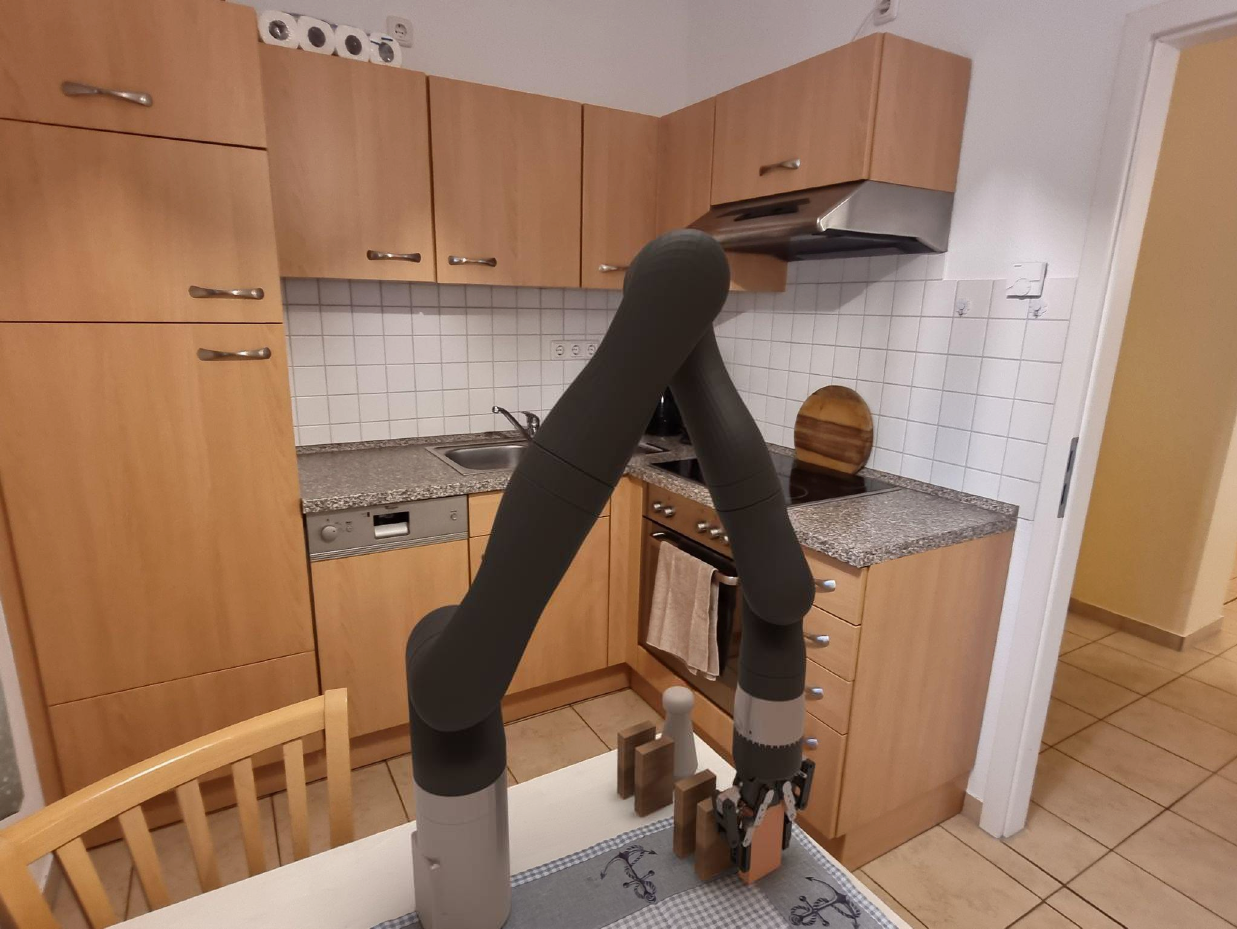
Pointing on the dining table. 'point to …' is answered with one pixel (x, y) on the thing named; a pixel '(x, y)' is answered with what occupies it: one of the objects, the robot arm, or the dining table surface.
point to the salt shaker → (680, 730)
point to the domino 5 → (765, 843)
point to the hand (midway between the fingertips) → (760, 855)
